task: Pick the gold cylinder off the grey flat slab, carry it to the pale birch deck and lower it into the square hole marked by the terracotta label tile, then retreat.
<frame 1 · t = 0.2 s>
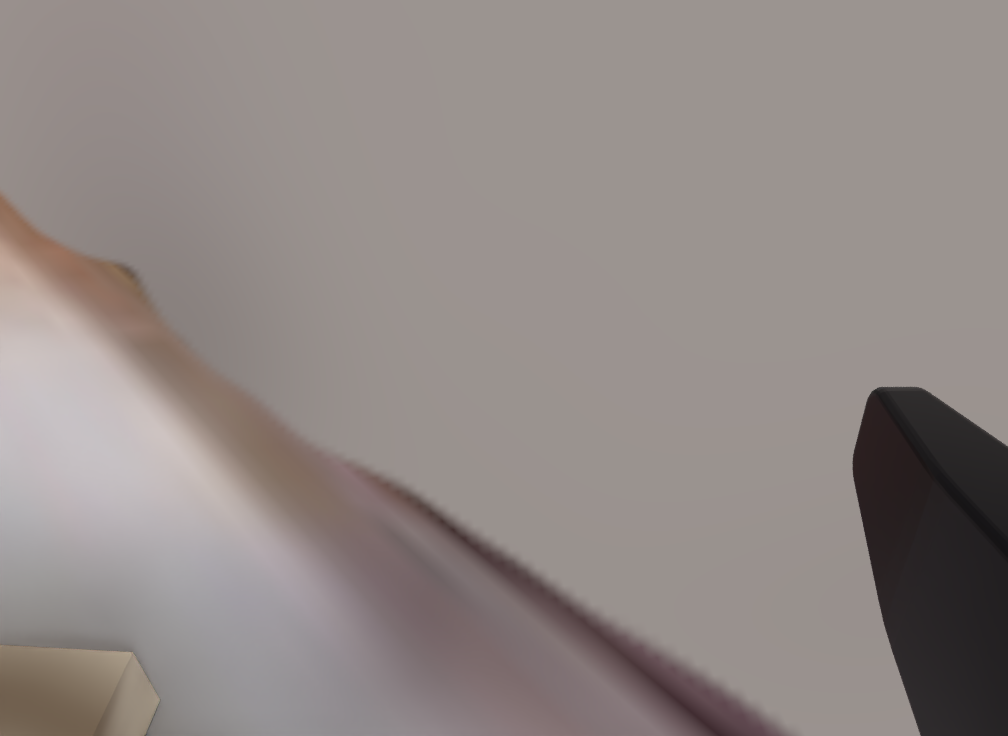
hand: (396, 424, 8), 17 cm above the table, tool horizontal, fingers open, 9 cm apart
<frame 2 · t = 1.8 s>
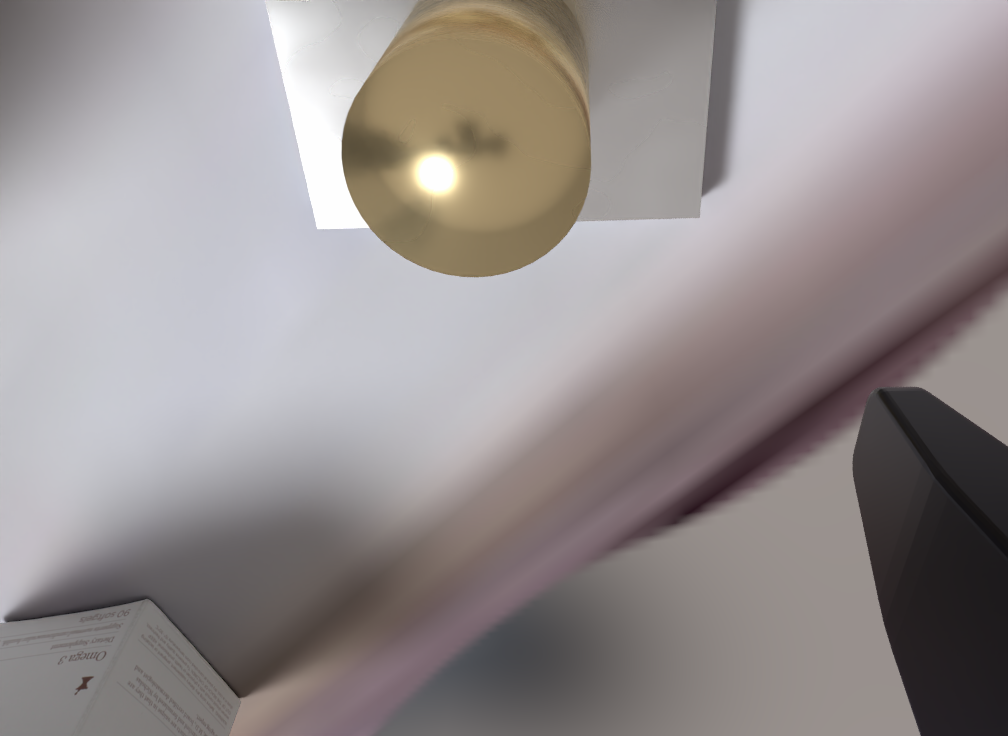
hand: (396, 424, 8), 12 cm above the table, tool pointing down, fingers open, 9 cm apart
gold cylinder: (492, 71, 17), point 1 cm above the table, touching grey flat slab
supplement box: (126, 655, 33), on the table
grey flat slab: (495, 60, 18), on the table
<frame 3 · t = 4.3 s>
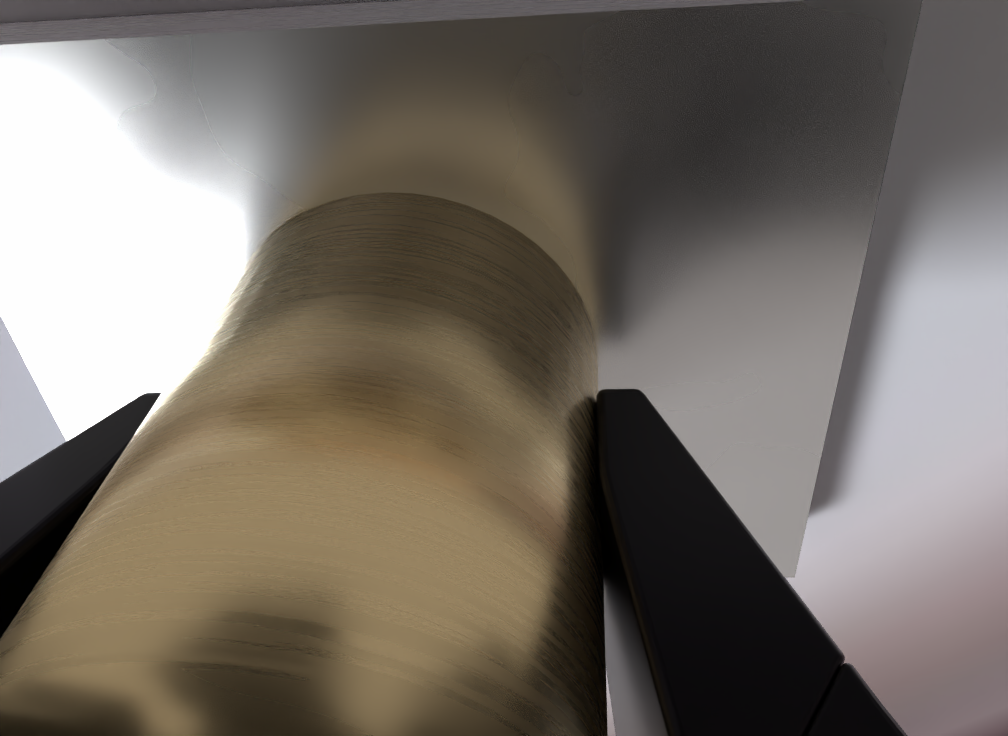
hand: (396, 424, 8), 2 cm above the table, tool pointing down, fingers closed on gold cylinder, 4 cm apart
gold cylinder: (412, 362, 9), point 1 cm above the table, touching gripper, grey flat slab
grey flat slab: (425, 322, 9), on the table
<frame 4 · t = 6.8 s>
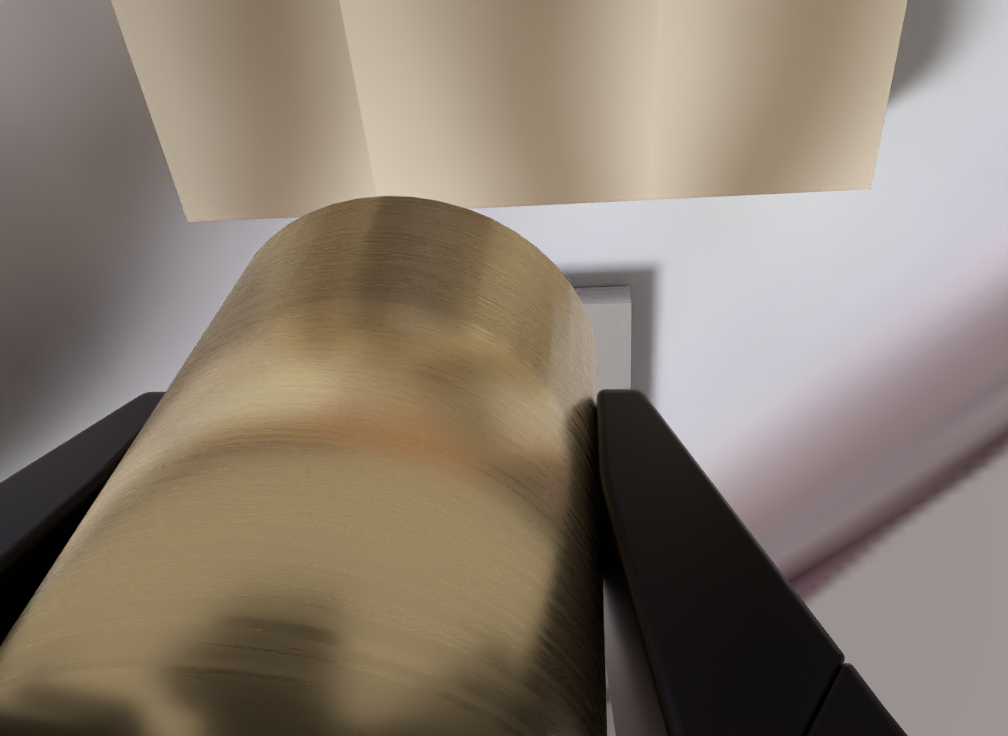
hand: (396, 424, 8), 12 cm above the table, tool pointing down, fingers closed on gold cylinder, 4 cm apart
gold cylinder: (413, 365, 9), point 11 cm above the table, touching gripper
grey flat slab: (467, 398, 23), on the table
when the fingers open (3 cm above the table, at t = 9.6 s): gold cylinder drops 2 cm, resting in hole deck.
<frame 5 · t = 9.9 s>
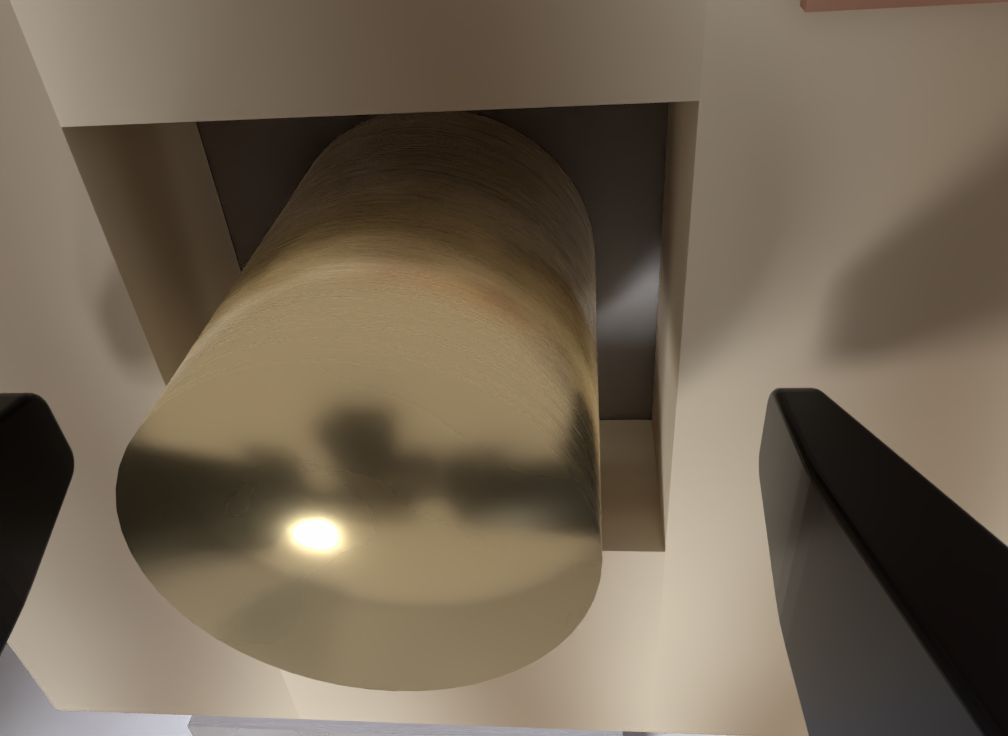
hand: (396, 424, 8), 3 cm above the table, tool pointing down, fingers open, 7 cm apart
gold cylinder: (442, 257, 11), resting in hole deck
hole deck: (443, 257, 11), on the table
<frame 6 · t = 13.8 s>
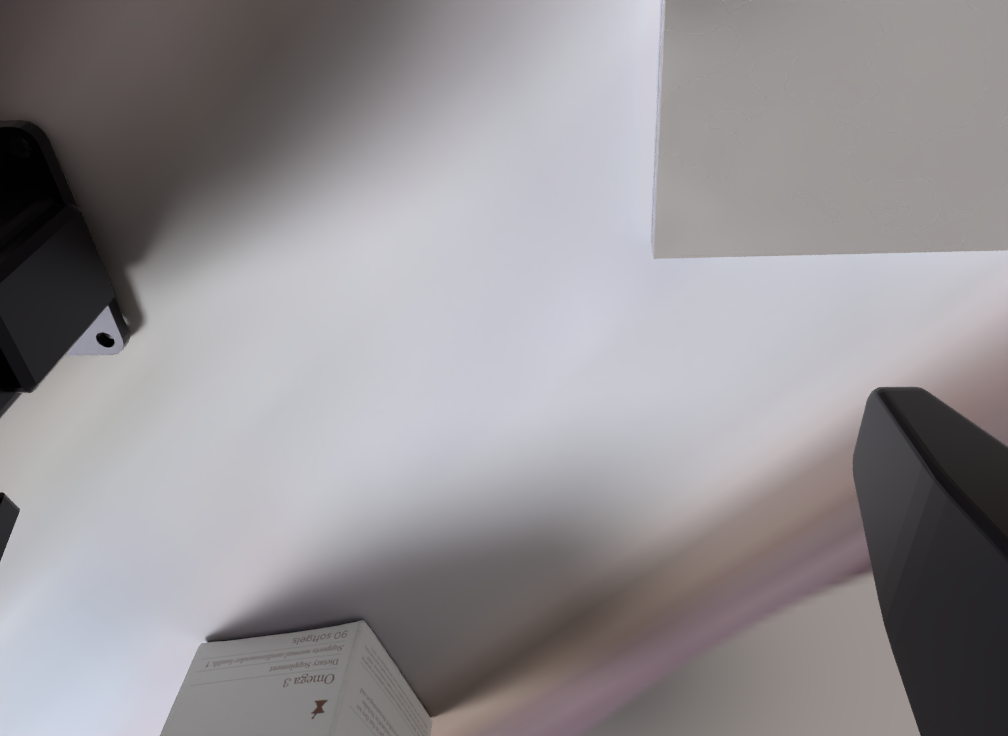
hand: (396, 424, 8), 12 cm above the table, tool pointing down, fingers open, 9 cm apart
supplement box: (321, 675, 33), on the table
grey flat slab: (870, 91, 17), on the table
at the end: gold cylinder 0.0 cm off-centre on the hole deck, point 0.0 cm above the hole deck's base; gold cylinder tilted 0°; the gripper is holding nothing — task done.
